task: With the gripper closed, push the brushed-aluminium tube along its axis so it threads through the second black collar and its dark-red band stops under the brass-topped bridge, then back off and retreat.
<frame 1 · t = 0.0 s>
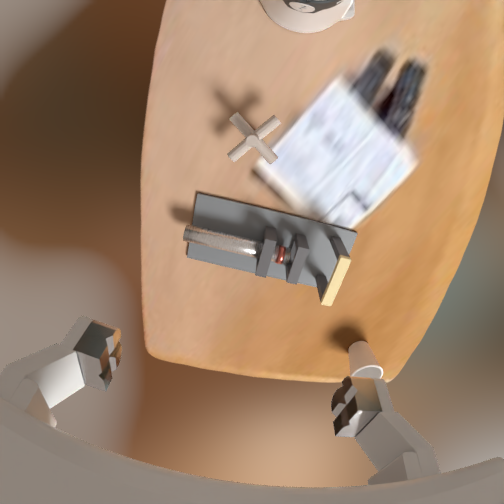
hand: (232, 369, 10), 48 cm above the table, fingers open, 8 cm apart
dixie cup: (358, 348, 73), on the table
pipe connector: (255, 135, 51), on the table
tube: (237, 244, 57), point 4 cm above the table, slide at 0.0 cm
collar board: (271, 244, 61), on the table
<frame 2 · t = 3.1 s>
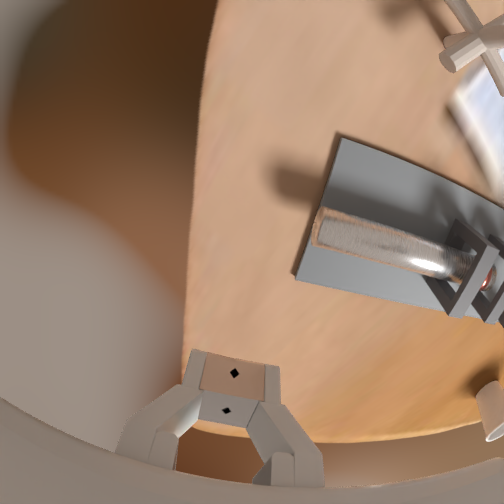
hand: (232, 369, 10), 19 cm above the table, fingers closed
dixie cup: (486, 389, 40), on the table
pipe connector: (450, 45, 18), on the table
tube: (419, 254, 24), point 4 cm above the table, slide at 0.0 cm
collar board: (450, 252, 28), on the table
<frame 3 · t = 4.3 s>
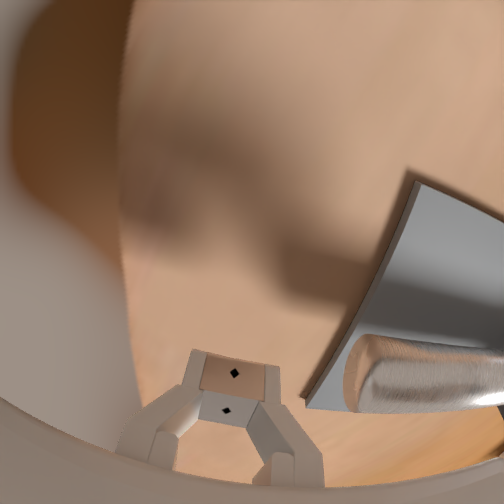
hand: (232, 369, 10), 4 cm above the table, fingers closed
tube: (502, 377, 11), point 4 cm above the table, slide at 0.0 cm
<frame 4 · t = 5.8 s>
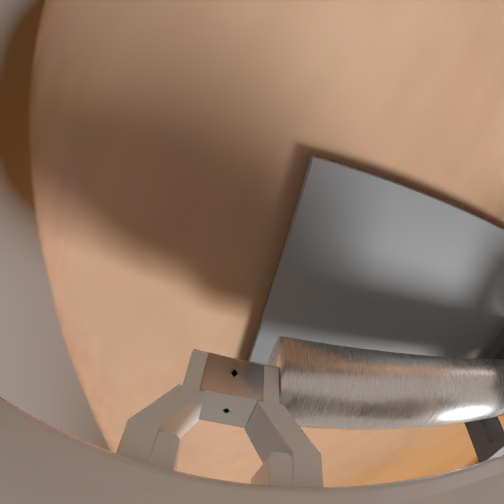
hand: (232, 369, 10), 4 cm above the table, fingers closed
tube: (469, 390, 11), point 4 cm above the table, slide at 1.0 cm, touching gripper
collar board: (497, 347, 14), on the table
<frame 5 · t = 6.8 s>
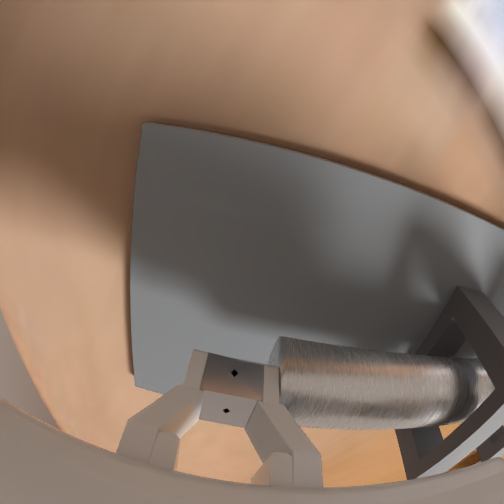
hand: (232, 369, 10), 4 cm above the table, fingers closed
tube: (469, 390, 11), point 4 cm above the table, slide at 6.8 cm, touching gripper
collar board: (441, 342, 14), on the table
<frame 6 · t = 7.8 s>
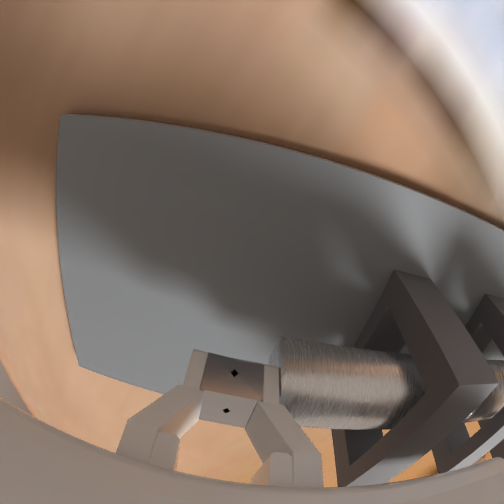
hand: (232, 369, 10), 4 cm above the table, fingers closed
tube: (469, 390, 11), point 4 cm above the table, slide at 10.5 cm, touching gripper
collar board: (388, 336, 14), on the table
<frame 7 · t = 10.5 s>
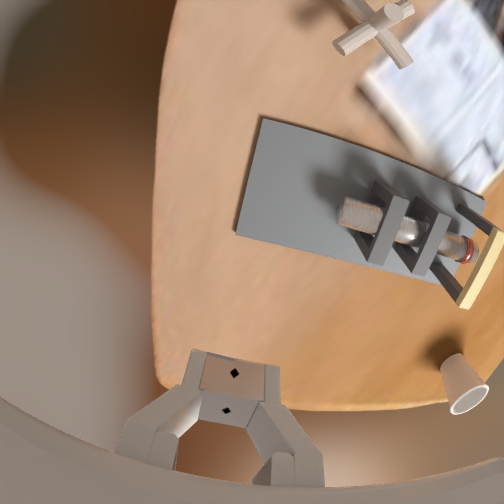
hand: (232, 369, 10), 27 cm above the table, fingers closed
dixie cup: (451, 362, 47), on the table
pipe connector: (360, 35, 25), on the table
tube: (416, 233, 32), point 4 cm above the table, slide at 10.7 cm
collar board: (377, 212, 35), on the table
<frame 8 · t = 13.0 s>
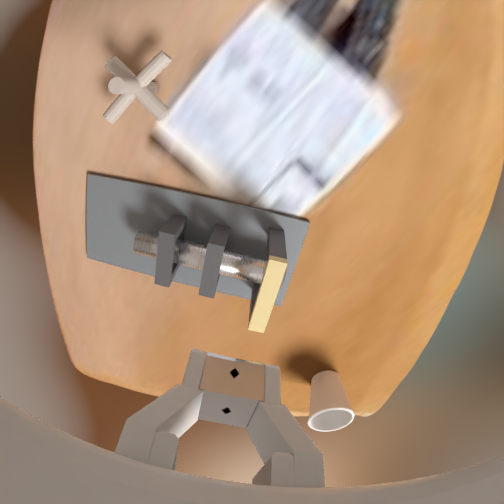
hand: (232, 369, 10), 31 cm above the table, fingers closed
dixie cup: (325, 378, 55), on the table
pipe connector: (152, 88, 33), on the table
tube: (208, 258, 40), point 4 cm above the table, slide at 10.7 cm
collar board: (184, 239, 43), on the table
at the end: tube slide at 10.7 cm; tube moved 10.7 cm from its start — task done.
